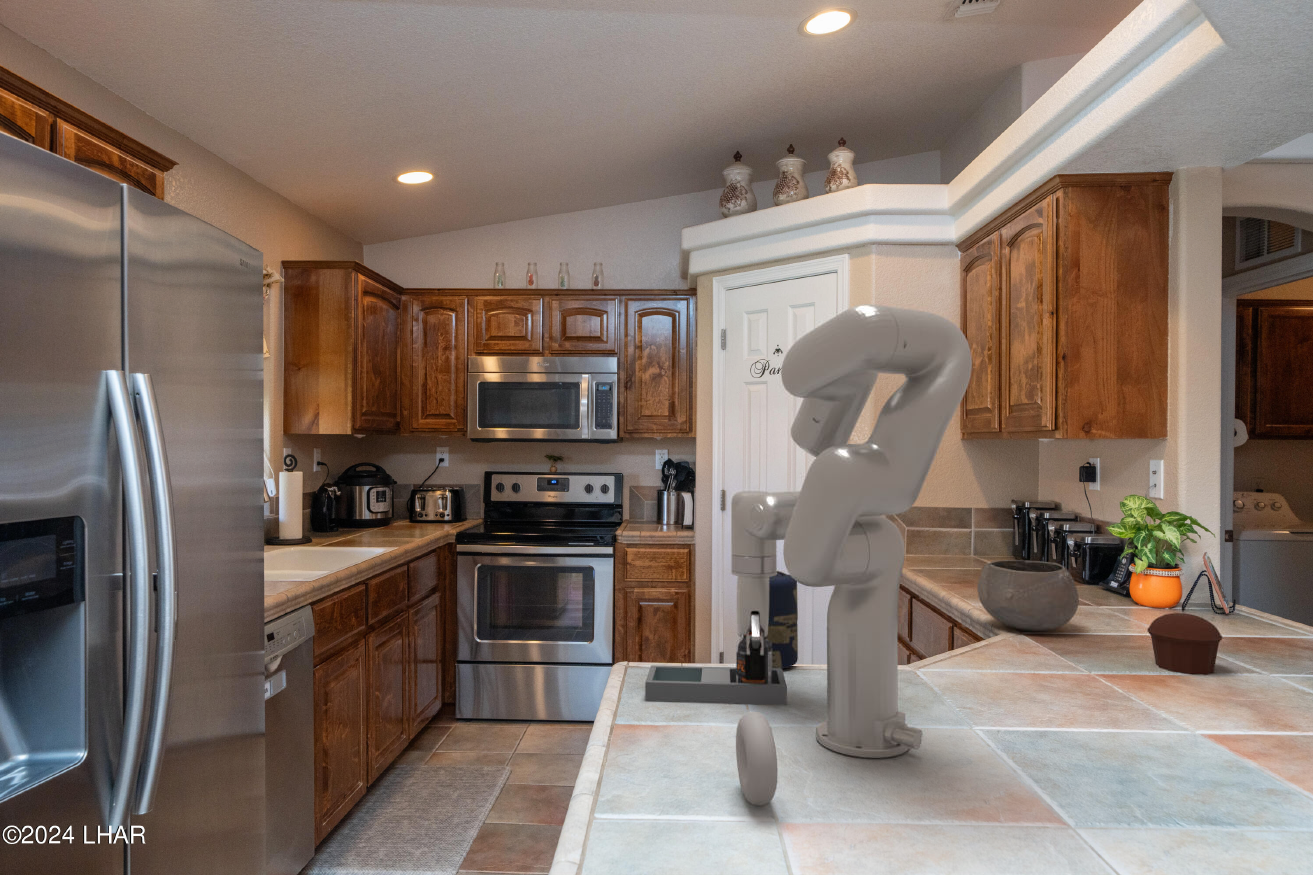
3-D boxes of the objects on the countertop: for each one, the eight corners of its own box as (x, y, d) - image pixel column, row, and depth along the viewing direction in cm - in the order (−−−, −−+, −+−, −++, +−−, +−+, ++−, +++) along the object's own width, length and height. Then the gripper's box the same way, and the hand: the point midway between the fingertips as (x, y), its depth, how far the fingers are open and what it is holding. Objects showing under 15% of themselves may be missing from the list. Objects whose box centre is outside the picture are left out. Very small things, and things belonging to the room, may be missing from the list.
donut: (732, 783, 92) (733, 700, 92) (761, 782, 92) (760, 699, 92) (750, 822, 82) (750, 729, 82) (781, 821, 82) (781, 728, 82)
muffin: (1154, 672, 140) (1153, 618, 140) (1141, 657, 150) (1140, 607, 150) (1232, 679, 135) (1231, 623, 135) (1213, 664, 145) (1212, 611, 146)
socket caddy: (782, 686, 131) (781, 668, 131) (786, 704, 121) (786, 685, 121) (651, 682, 133) (651, 665, 133) (645, 700, 123) (645, 682, 123)
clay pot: (1098, 639, 165) (1097, 570, 165) (1001, 639, 165) (1001, 569, 166) (1049, 618, 186) (1048, 557, 186) (964, 618, 186) (963, 557, 187)
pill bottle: (731, 697, 125) (731, 628, 125) (741, 687, 130) (741, 621, 130) (767, 701, 122) (767, 631, 123) (775, 691, 128) (775, 623, 128)
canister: (797, 673, 139) (797, 574, 139) (745, 670, 140) (745, 572, 141) (798, 659, 148) (798, 567, 148) (749, 657, 150) (749, 565, 150)
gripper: (730, 558, 136) (730, 659, 135) (732, 572, 119) (732, 688, 118) (773, 558, 135) (773, 660, 135) (780, 573, 118) (780, 690, 117)
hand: (754, 672), depth 126 cm, fingers open, 6 cm apart
